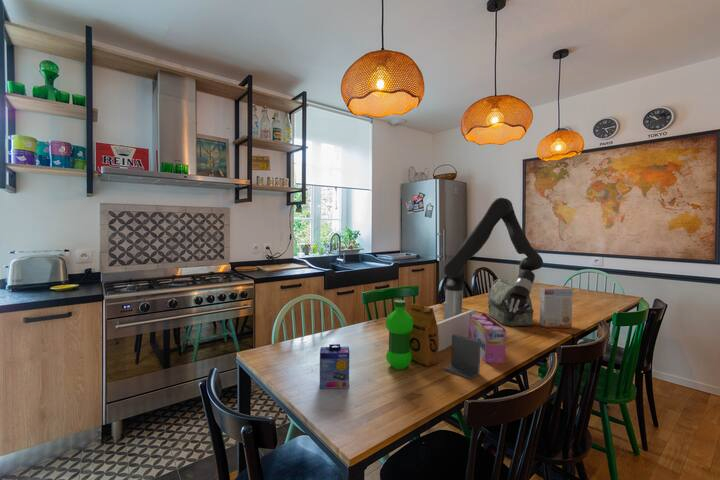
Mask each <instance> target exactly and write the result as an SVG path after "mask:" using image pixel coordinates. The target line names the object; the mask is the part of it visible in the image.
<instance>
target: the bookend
mask: <svg viewBox="0 0 720 480" xmlns="http://www.w3.org/2000/svg"><path fill="white" fill-rule="evenodd" d="M450 361H451V362H450V363H451V364H449V365H447V366H445V367H444V370H443V371H446V372H449V373H451V374H454V375H457V376H460V377H463V378H465V379H469V380H470V379H471V380H473V379H474V378H476V377H477V376H478V375H480V371H481V369H480V368H481V365H480V363H481V357H480V341H478V340H474V339H470V338H469V337H467V338H466V337H463V336H459V335H455V334H453V335H452V345H451V359H450Z"/></svg>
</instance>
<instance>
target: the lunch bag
mask: <svg viewBox="0 0 720 480" xmlns="http://www.w3.org/2000/svg"><path fill="white" fill-rule="evenodd" d="M514 284H515V283H512V282H509V280H507V279H504V278H499V279H498V278H497V279H495V280H493V282H492V283H491V287H490V290H489V292H488V295H487V297H488V299H487V305H488V307H487V308H488V316H489V317H490V318H491V319H493V320H494V321H496V322H497V323H500V324H502V325H504V326H509V327H520V326H525V327H526V326H527V327H529V326H533V325H534V309H533V304H532V299H531V296H530V295H529V297H528V300H527V304H528V305H530V308H531V309H530V310H529V311H527V312H525V313H524V314H522V315H516V317H515V320H514V321H512V322H510V321H508V319H507V316H508V313H507V311H506V309H505V307H504V305H503V303H502V300H504V301H505V300H507V299H508V298H509V297H510V294H511V291H512V289H513V286H514ZM507 307H508V309H510V305H509V302H508V305H507Z"/></svg>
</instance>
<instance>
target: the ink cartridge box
mask: <svg viewBox="0 0 720 480" xmlns="http://www.w3.org/2000/svg"><path fill="white" fill-rule="evenodd" d="M349 388H350V347H349V346H341V343H337V344H333V343H331V344H329V346H322V347H320V351H319V389H320V390H322V389H325V390H326V389H349Z"/></svg>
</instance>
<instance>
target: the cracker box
mask: <svg viewBox="0 0 720 480" xmlns="http://www.w3.org/2000/svg"><path fill="white" fill-rule="evenodd" d="M539 288H540V289H539V290H540V291H539V292H540V293H539V297H540V298H539V325H540V326H542V327H543V328H550V329H553V328H555V329H556V328H557V329H559V328H560V329H572V327H573V326H572V325H573V324H572V323H573V322H572V321H573V291H574V290H573V289H572V288H570V287H569V286H568V287H567V286H566V287H565V286H540V287H539Z"/></svg>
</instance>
